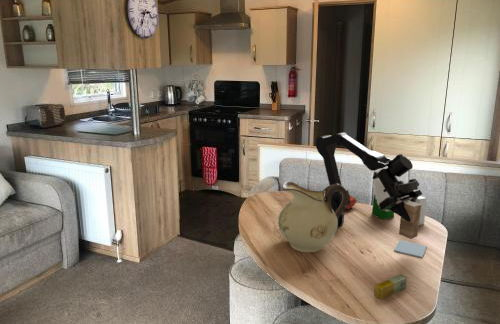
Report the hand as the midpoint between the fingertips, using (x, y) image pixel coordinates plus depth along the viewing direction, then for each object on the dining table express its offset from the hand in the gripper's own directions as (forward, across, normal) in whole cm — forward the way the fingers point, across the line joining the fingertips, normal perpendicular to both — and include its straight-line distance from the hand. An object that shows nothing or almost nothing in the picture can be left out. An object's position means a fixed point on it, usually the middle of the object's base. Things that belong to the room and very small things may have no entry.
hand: (413, 219), depth 142 cm
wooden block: (+4, 0, +6) cm, 7 cm away
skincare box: (-2, +28, +21) cm, 35 cm away
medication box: (+18, -27, +2) cm, 32 cm away
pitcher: (-9, -27, +28) cm, 40 cm away
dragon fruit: (-22, +14, +42) cm, 49 cm away
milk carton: (-11, +22, +30) cm, 39 cm away
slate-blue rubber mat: (+8, +3, +11) cm, 14 cm away
